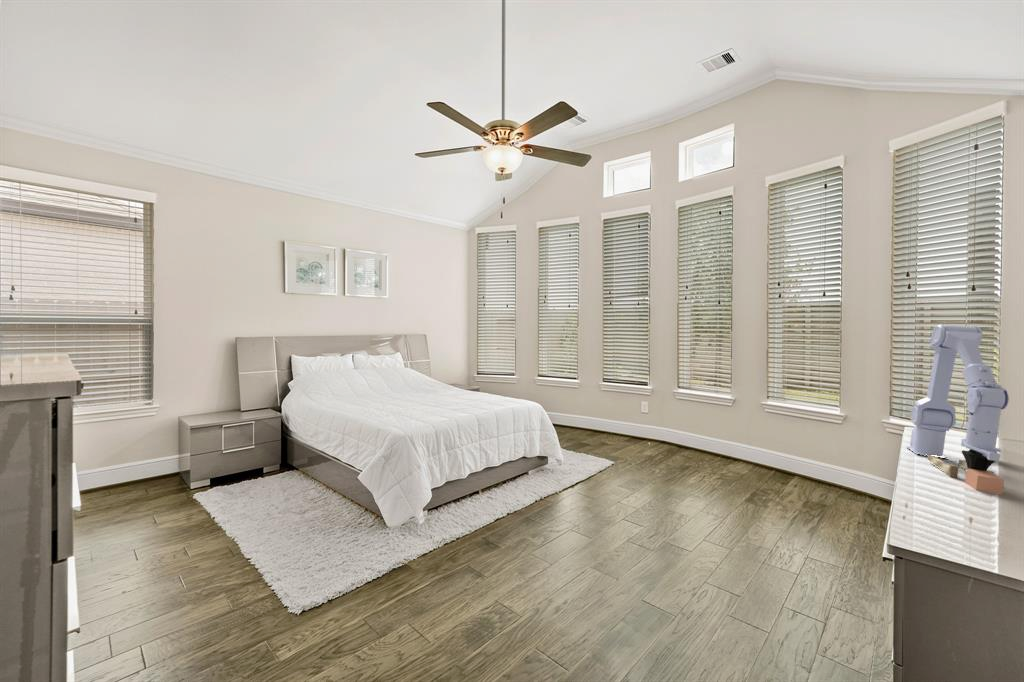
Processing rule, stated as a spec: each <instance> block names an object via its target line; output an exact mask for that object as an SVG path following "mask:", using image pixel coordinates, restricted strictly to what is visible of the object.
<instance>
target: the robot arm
mask: <svg viewBox="0 0 1024 682" xmlns="http://www.w3.org/2000/svg"><path fill="white" fill-rule="evenodd" d="M983 336H984V335H983V331H982V329H981V328H980V326H978V325H977V326H970V325H968V326H966V325H950V324H937V325H936V326H935V327H934V328H933V329H932V332H931V337H930V341H929V343H930V346H929V347H930V348H931V349H933V350H934V356H933V360H932V365H931V371H930V375H929V376H930V378H929V382H928V383H929V384H928V389H927V394H926V396H925V397H923V398H920V399H918V400H916V401H914V403H913V406H912V409H911V410H910V415H909V416H910V417H909V418H910V421H911V422H912V424H913V425H914V427H913V429H912V430H911V436H910V442H909V443H910V444H909V445H906V449H908V450H909V449H910V451H911V452H912V451H913V452H912V453H914V454H915V453H916V454H915V455H917V454H920V455H919V456H922V455H926V454H927V455H937V456H942V455H944V449H945V442H946V434H947V432H949V431H950V430H951V429H952V428H954V427H955V425H956V422H957V421H956V420H957V417H956V411H957V410H956V408H955V406H954V405H953V404H951V403H950V402H949V401H948V399H949V394H950V393H949V392H950V389H951V388H950V387H951V383H952V377H953V373H954V367H955V361H956V355H957V354H958V355H959V357H960V359H961V361H962V363H963V365H964V367H965V368H964V369H962V376H963V378H964V380H965V383H966V386H967V389H968V391H967V394H966V402H967V409H966V410H967V411H968V412H969V415H968V422H967V426H966V427H967V428H966V434H965V435H966V436H965V439H964V438H962V439H961V442H960V443H961V444H960V446H961V447H965V448H966V449H968V450H961V453H962V455H963V458H964V460H965V461H966V463H967V468H968V469H974V470H980V471H987V470H988V469H989V468H990V466H992V464H994V463H995V462H999V461H1000V457H1001V452H1002V449H1001V448H998V447H996V445H997V439H998V434H999V433H998V432H999V427H1000V419H1001V415H1002V410H1005V409H1006V408H1007V407H1008V405H1009V401H1010V398H1009V393H1008V390H1007V389H1006V388H1004V387H1003V386H1002V385H1001V384H998V383H997V381H996V378H995V376H994V373H993V372H992V369H991V367H990V366H988V365H985V364H984V363H983V359H982V355H981V351H980V345H981V343H982V341H983Z"/></svg>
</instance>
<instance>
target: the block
mask: <svg viewBox="0 0 1024 682" xmlns="http://www.w3.org/2000/svg"><path fill="white" fill-rule="evenodd" d="M965 472H966V473H965V480H964V483H965V484H967V485H968V486H970V487H971V488H972V489H973V490H974V491H978V492H985V493H991V494H995V493H996V494H997V495H1001V494H1002V495H1003V490H1004V484H1005V479H1004V478H1002V477H1001V476H999V475H997V474H995V472H994V473H992V472H993V471H992V472H987V471H980V470H974V469H968V468H967V471H965Z"/></svg>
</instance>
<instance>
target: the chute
mask: <svg viewBox="0 0 1024 682" xmlns="http://www.w3.org/2000/svg"><path fill="white" fill-rule="evenodd" d="M927 460H929V461H930V462H932V463H933V464H935V465H936V466H938V467H939V468H940V469H941V470H943V471H944V472H945V473H946V474H945V473H944V472H943V473H944V474H945V475H946V476H948V475H949V476H948V477H949V478H954V477H955V478H956V479H957V478H958V473H959V468H961V467H962V468H963V469H962V468H961V469H962V470H964V469H965V470H967V463H966V460H965V459H958V463H957V465H954V464H948V463H946V462H945V461H943V460H941V458H937V457H935V456H931V455H928V456H927V459H926V461H927ZM958 465H959V466H960V467H959V466H958ZM941 470H940V471H941ZM965 470H964V471H965ZM987 472H992V473H994V474H995V472H994V471H992V470H988V469H987Z"/></svg>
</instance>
